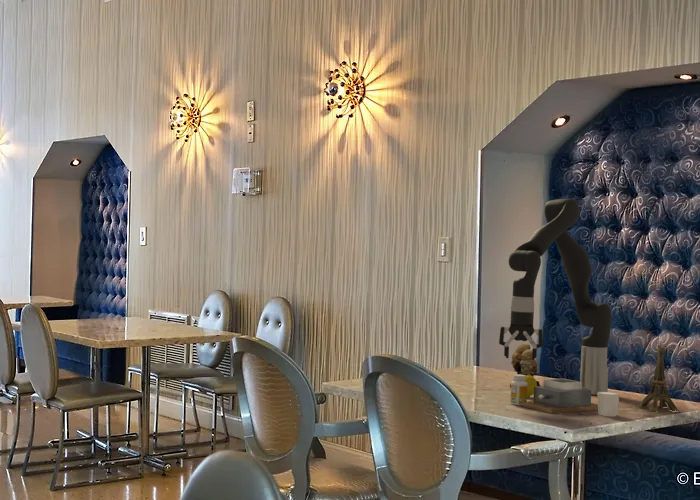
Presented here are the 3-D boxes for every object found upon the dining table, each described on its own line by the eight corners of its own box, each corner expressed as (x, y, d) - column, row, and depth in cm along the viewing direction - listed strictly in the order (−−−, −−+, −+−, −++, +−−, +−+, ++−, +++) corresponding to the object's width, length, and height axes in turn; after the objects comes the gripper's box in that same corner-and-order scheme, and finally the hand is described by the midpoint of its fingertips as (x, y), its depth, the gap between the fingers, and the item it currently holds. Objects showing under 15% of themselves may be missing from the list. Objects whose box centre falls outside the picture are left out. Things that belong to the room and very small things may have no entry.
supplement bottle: (527, 403, 331) (529, 374, 331) (525, 406, 326) (526, 376, 325) (511, 402, 332) (513, 373, 332) (509, 404, 327) (510, 375, 327)
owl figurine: (546, 393, 358) (548, 346, 358) (514, 392, 359) (515, 345, 358) (537, 385, 376) (539, 341, 376) (506, 384, 377) (508, 340, 376)
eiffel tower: (650, 412, 323) (653, 336, 323) (636, 407, 334) (639, 333, 333) (680, 413, 325) (683, 337, 325) (665, 407, 335) (668, 334, 335)
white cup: (593, 412, 318) (594, 391, 318) (614, 413, 318) (615, 391, 318) (600, 416, 311) (601, 394, 311) (621, 417, 312) (622, 394, 311)
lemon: (536, 398, 342) (537, 375, 342) (519, 397, 343) (520, 374, 343) (536, 396, 348) (537, 374, 348) (520, 395, 349) (521, 372, 349)
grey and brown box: (571, 403, 336) (572, 376, 336) (601, 409, 324) (602, 382, 324) (521, 406, 324) (523, 379, 324) (551, 413, 313) (552, 385, 312)
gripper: (544, 311, 331) (542, 359, 331) (501, 308, 334) (499, 356, 334) (543, 312, 324) (541, 361, 324) (499, 309, 327) (497, 358, 327)
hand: (520, 358), depth 329 cm, fingers open, 8 cm apart
